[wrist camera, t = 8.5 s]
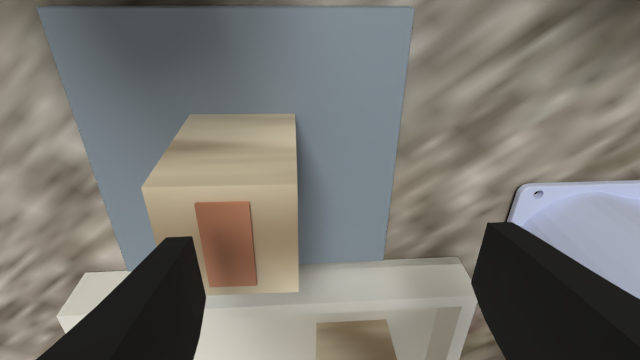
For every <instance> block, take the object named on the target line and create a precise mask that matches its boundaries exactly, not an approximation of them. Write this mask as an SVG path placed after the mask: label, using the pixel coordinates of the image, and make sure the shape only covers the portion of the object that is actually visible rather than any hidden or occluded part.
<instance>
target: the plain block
mask: <svg viewBox="0 0 640 360" xmlns="http://www.w3.org/2000/svg"><path fill="white" fill-rule="evenodd" d="M316 360H397V358H396V354H395V350H394V347H393V343H392V339H391V335H390V332H389V328H388V324H387V321H386V319H382V320H363V321H345V322H326V323H316Z"/></svg>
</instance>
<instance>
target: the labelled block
mask: <svg viewBox="0 0 640 360" xmlns="http://www.w3.org/2000/svg"><path fill="white" fill-rule="evenodd" d="M141 189H142V193H143V197H144V200H145V204H146V208H147V212H148V215H149V219H150V223H151V227H152V231H153V234H154V238H155V242H156V246H158V245H159V244H160V243H161V242H162V241H163V240H164V239H165V238H166V237H185V236H192V237H193V241H194V246H195V250H196V254H197V259H198V263H199V268H200V272H201V276H202V281H203V285H204V289H205V294H206V296H211V295H237V294H262V293H288V292H299V264H298V193H297V156H296V124H295V114H190V115H189V117H188V118H187V120H186V121H185V123H184V124H183V126H182V127H181V129H180V130H179V132H178V133H177V135H176V136H175V137H174V139H173V140H172V142H171V143H170V145H169V146H168V148H167V149H166V151H165V152H164V154H163V155H162V157H161V158H160V160H159V161H158V163H157V164H156V166H155V167H154V169H153V170H152V172H151V173H150V175H149V176H148V178H147V179H146V181H145V182H144V184H143V185H142V187H141Z"/></svg>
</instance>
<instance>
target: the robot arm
mask: <svg viewBox="0 0 640 360" xmlns="http://www.w3.org/2000/svg"><path fill="white" fill-rule="evenodd" d="M537 191H538V193H536V194H534V193H535V192H537ZM471 285H472V287H473V290H474V293H475V295H476V298H477V301H478V304H479V306H480V309H481V311H482V313H483V316H484V318H485V321H486V323H487V325H488V327H489V329H490V330H491V332H492V334H493V336H494V338H495V340H496V342H497V344H498V345H499V347H500V349H501V351H502V353H503V355H504V356H505V358H506V360H640V180H627V181H594V182H561V183H528V184H524V185H522V186H521V187H520V188H519V189H518V190H517V192H516V195H515V198H514V202H513V205H512V208H511V211H510V214H509V217H508V220H507V222H499V223H487V227H486V230H485V234H484V238H483V241H482V245H481V248H480V252H479V256H478V259H477V263H476V267H475V270H474V274H473V277H472V281H471ZM205 302H206V294H205V289H204V285H203V281H202V276H201V272H200V268H199V263H198V259H197V254H196V250H195V246H194V241H193V237H192V236H185V237H166V238H165V239H164V240H163V241H162V242H161V243H160V244H159V245H158V246H157V247H156V248H155V249H154V250H153V251H152V252H151V253H150V254H149V255H148V256H147V257H146V258H145V259H144V260H143V261H142V262H141V263H140V264H139V265H138V266H137V267H136V268H135V269H134V270H133V271H132V272H131V273H130V274H129V275H128V276H127V277H126V278H125V279H124V280H123V281H122V282H121V283H120V284H119V285H118V286H117V287H116V288H115V289H114V290H113V291H112V292H111V293H110V294H108V295H107V296H106V297H105V298H104V299H103V300H102V301H101V302H100V303H99V304H98V305H97V306H96V307H95V308H94V309H93V310H92V311H91V312H89V313H88V314H87V315H86V316H85V317H84V318H83V319H82V320H81V321H79V322H78V323H77V324H76V325H75V326H74V327H73V328H72V329H71V330H69V331H68V332H67V333H66V334H65V335H64V336H63V337H62V338H61V339H59V340H58V341H57V342H56V343H55V344H54V345H53V346H52V347H50V348H49V349H48V350H47V351H46V352H45V353H43V354H42V355H41V356H40V357H39V358H37V359H36V360H194V356H195V353H196V349H197V345H198V342H199V338H200V333H201V327H202V321H203V315H204V309H205Z"/></svg>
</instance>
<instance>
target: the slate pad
mask: <svg viewBox="0 0 640 360" xmlns="http://www.w3.org/2000/svg"><path fill="white" fill-rule="evenodd" d="M37 11H38V14H39V17H40V20H41V23H42V26H43V29H44V31H45V34H46V37H47V40H48V43H49V46H50V49H51V52H52V54H53V57H54V60H55V63H56V66H57V69H58V72H59V75H60V77H61V80H62V83H63V86H64V89H65V92H66V95H67V98H68V100H69V103H70V106H71V109H72V112H73V115H74V118H75V121H76V123H77V126H78V129H79V132H80V135H81V138H82V141H83V144H84V147H85V149H86V152H87V155H88V158H89V161H90V164H91V167H92V170H93V172H94V175H95V178H96V181H97V184H98V187H99V190H100V193H101V195H102V198H103V201H104V204H105V207H106V210H107V213H108V216H109V218H110V221H111V224H112V227H113V230H114V233H115V236H116V239H117V241H118V244H119V247H120V250H121V253H122V256H123V259H124V262H125V264H126V267H127V270H128V271H133V270H134V269H135V268H136V267H137V266H138V265H139V264H140V263H141V262H142V261H143V260H144V259H145V258H146V257H147V256H148V255H149V254H150V253H151V252H152V251H153V250H154V249H155V248H156V247H157V246H156V242H155V238H154V234H153V231H152V227H151V223H150V219H149V215H148V212H147V208H146V204H145V200H144V197H143V193H142V189H141V187H142V185H143V184H144V182H145V181H146V179H147V178H148V176H149V175H150V173H151V172H152V170H153V169H154V167H155V166H156V164H157V163H158V161H159V160H160V158H161V157H162V155H163V154H164V152H165V151H166V149H167V148H168V146H169V145H170V143H171V142H172V140H173V139H174V137H175V136H176V135H177V133H178V132H179V130H180V129H181V127H182V126H183V124H184V123H185V121H186V120H187V118H188V117H189V115H190V114H295V124H296V156H297V193H298V264H315V263H338V262H362V261H383V256H384V248H385V240H386V232H387V224H388V216H389V208H390V200H391V192H392V184H393V176H394V168H395V160H396V152H397V144H398V136H399V128H400V120H401V112H402V104H403V96H404V88H405V80H406V72H407V63H408V55H409V47H410V39H411V31H412V23H413V15H414V8H413V7H410V6H44V7H38V8H37Z"/></svg>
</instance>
